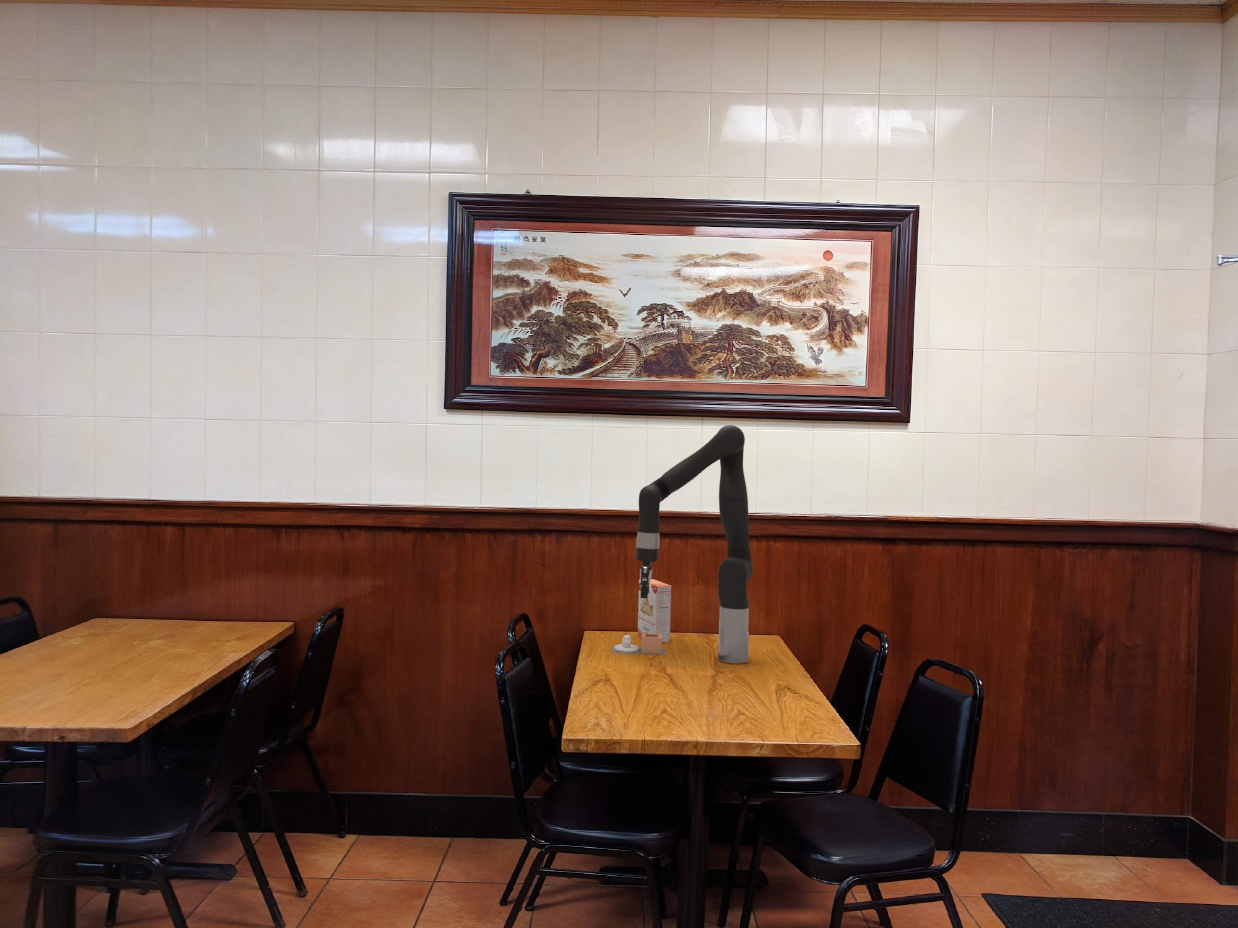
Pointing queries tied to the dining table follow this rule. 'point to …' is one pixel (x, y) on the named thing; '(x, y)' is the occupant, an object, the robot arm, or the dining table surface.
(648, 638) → the collar
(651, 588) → the cracker box
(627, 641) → the hub base
